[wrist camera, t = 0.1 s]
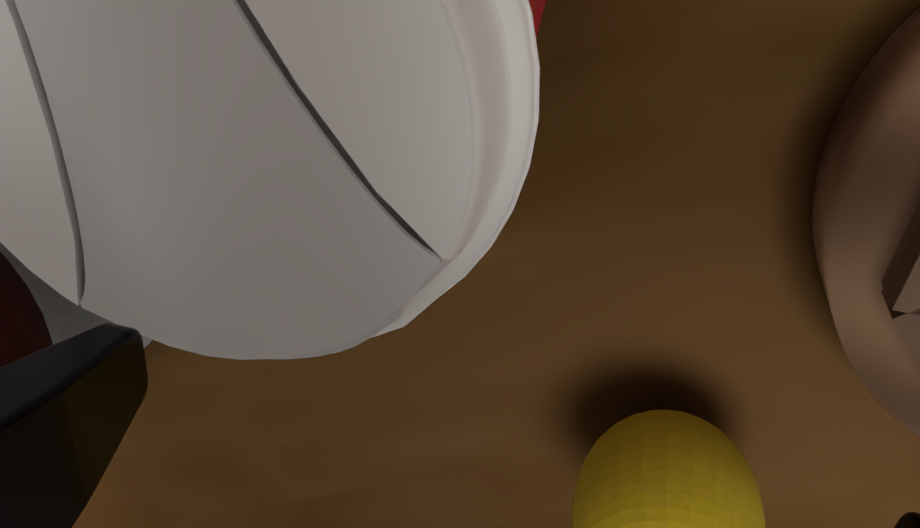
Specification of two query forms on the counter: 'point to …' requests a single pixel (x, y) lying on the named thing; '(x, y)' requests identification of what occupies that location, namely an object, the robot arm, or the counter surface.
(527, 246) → the counter surface
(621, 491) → the lemon
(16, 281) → the mate gourd
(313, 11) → the paper cup
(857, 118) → the stand
